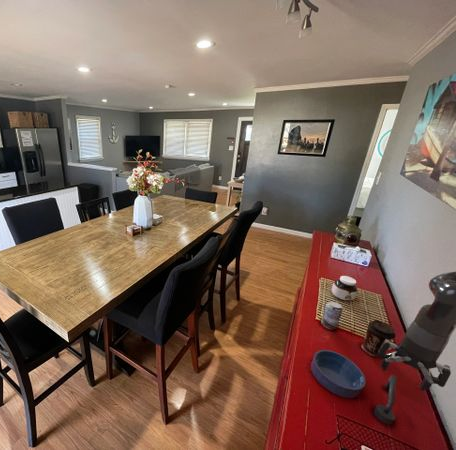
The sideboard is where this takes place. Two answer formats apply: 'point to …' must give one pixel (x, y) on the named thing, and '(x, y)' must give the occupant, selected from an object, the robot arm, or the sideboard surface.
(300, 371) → the sideboard surface
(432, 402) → the sideboard surface
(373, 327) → the coffee cup
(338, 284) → the spread jar
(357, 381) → the bowl
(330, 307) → the beverage can
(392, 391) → the door handle
